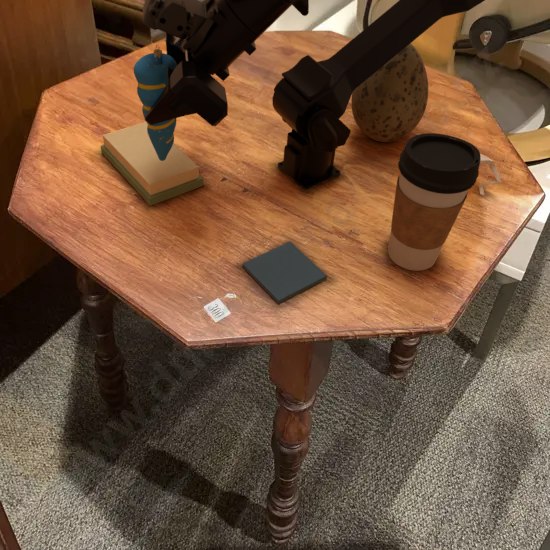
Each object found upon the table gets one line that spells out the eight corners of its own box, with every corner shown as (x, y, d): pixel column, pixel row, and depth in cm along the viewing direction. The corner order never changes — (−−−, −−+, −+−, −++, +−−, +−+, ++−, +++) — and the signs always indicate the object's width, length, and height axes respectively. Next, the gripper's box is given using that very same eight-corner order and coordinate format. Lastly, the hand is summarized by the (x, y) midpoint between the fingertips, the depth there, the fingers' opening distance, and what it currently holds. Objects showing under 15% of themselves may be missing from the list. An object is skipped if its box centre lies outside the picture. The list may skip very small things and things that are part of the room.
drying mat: (289, 244, 73) (289, 241, 73) (326, 279, 70) (327, 275, 69) (242, 266, 70) (242, 263, 70) (278, 304, 67) (278, 300, 66)
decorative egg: (332, 127, 93) (345, 30, 82) (388, 112, 97) (408, 18, 86) (372, 164, 86) (393, 64, 76) (431, 147, 91) (458, 50, 80)
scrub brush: (152, 136, 88) (150, 118, 86) (203, 185, 81) (203, 167, 79) (101, 152, 85) (98, 134, 82) (150, 206, 77) (148, 187, 75)
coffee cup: (430, 289, 70) (467, 183, 59) (365, 258, 73) (389, 152, 62) (457, 249, 75) (495, 145, 64) (395, 222, 78) (422, 118, 67)
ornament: (134, 164, 75) (122, 49, 64) (154, 143, 79) (146, 30, 68) (171, 176, 74) (165, 61, 63) (190, 154, 78) (188, 41, 67)
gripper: (181, -73, 66) (94, 28, 73) (189, -6, 53) (82, 110, 60) (252, 0, 73) (166, 87, 79) (273, 75, 60) (169, 172, 66)
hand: (147, 110), depth 71 cm, fingers closed on ornament, 5 cm apart
